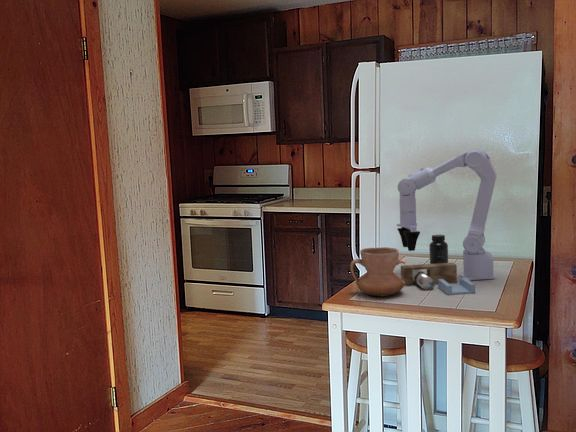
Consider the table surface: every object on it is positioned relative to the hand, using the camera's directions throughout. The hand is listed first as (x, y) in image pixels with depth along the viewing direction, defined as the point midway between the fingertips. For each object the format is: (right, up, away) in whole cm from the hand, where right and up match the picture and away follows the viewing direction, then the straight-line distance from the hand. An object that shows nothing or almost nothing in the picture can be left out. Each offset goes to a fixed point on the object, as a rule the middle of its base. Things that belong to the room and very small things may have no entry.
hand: (408, 248), depth 198 cm
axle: (+1, -9, -13) cm, 16 cm away
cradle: (+10, -12, -23) cm, 28 cm away
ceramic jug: (-14, -13, -22) cm, 29 cm away
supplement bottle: (+14, -8, +11) cm, 19 cm away
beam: (+4, -11, -12) cm, 17 cm away
